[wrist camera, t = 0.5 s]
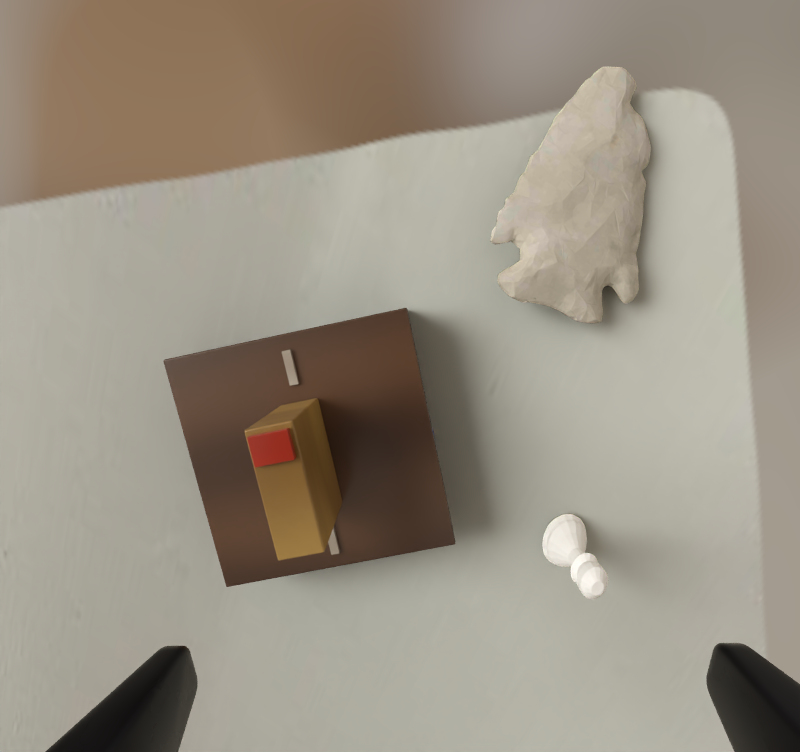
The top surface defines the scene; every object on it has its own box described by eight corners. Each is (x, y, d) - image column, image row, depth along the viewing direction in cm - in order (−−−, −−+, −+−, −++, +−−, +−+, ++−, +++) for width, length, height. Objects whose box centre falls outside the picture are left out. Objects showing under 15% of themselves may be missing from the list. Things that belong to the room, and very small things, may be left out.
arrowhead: (598, 333, 21) (681, 113, 19) (626, 338, 19) (719, 95, 18) (465, 286, 19) (548, 40, 18) (482, 285, 17) (575, 12, 16)
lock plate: (450, 518, 21) (456, 546, 19) (247, 556, 22) (224, 589, 19) (407, 308, 20) (406, 307, 17) (192, 354, 20) (160, 360, 18)
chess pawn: (550, 507, 21) (582, 551, 17) (591, 517, 21) (633, 563, 17) (534, 557, 21) (562, 612, 17) (575, 567, 21) (612, 625, 17)
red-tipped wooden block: (343, 502, 19) (323, 556, 14) (305, 509, 19) (275, 566, 14) (318, 397, 18) (289, 421, 14) (279, 405, 18) (240, 432, 14)
